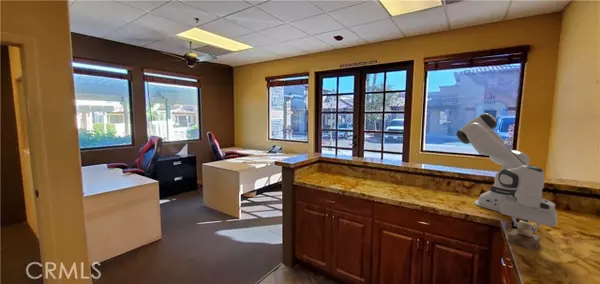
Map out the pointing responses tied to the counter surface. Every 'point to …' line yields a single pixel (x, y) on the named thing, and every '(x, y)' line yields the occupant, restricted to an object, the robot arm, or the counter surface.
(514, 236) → the walnut block
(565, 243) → the counter surface
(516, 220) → the battery
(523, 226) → the maple cube
